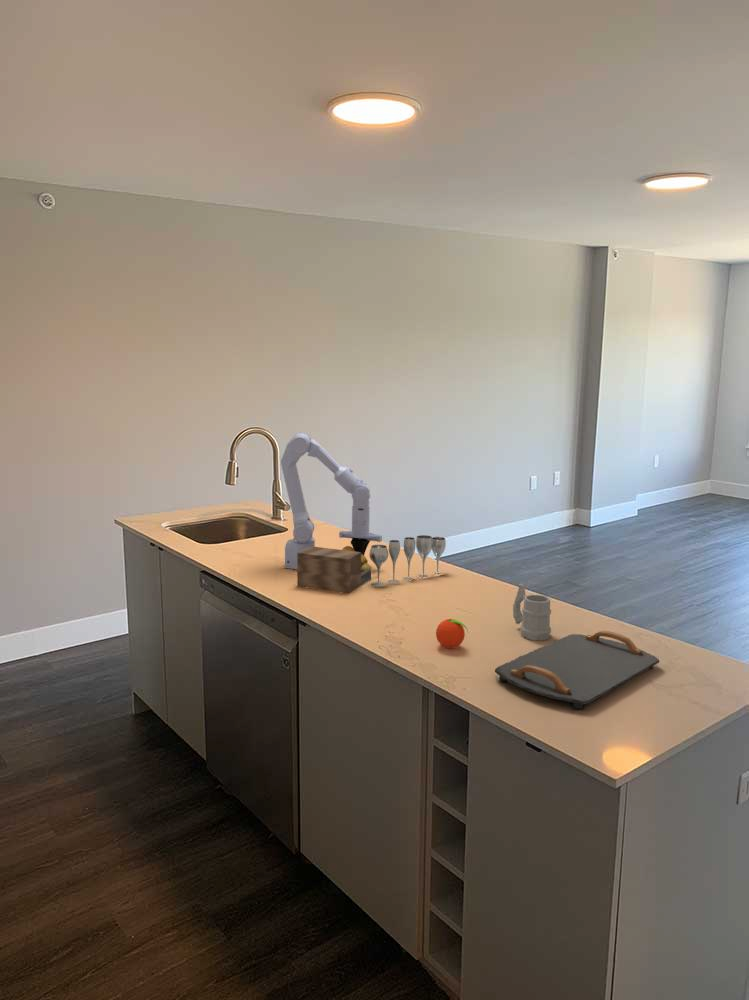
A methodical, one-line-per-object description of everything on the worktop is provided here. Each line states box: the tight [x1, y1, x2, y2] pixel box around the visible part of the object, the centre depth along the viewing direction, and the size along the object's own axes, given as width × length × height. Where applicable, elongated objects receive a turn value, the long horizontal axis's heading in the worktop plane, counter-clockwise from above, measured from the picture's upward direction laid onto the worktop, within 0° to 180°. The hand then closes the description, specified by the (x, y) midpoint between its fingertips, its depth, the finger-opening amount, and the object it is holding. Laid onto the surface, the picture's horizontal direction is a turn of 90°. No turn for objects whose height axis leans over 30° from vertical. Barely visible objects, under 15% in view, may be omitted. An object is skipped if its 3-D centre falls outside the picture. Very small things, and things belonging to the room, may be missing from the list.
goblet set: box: [368, 534, 447, 587], centre depth 241 cm, size 28×6×13 cm, turn 123°
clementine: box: [435, 618, 469, 649], centre depth 185 cm, size 8×7×7 cm
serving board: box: [494, 630, 660, 712], centre depth 170 cm, size 39×23×6 cm, turn 135°
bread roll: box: [341, 545, 372, 573], centre depth 246 cm, size 13×10×8 cm
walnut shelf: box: [296, 546, 372, 595], centre depth 236 cm, size 17×17×10 cm
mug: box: [512, 583, 552, 642], centre depth 195 cm, size 8×12×12 cm, turn 33°
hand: (360, 560), depth 254 cm, fingers closed
